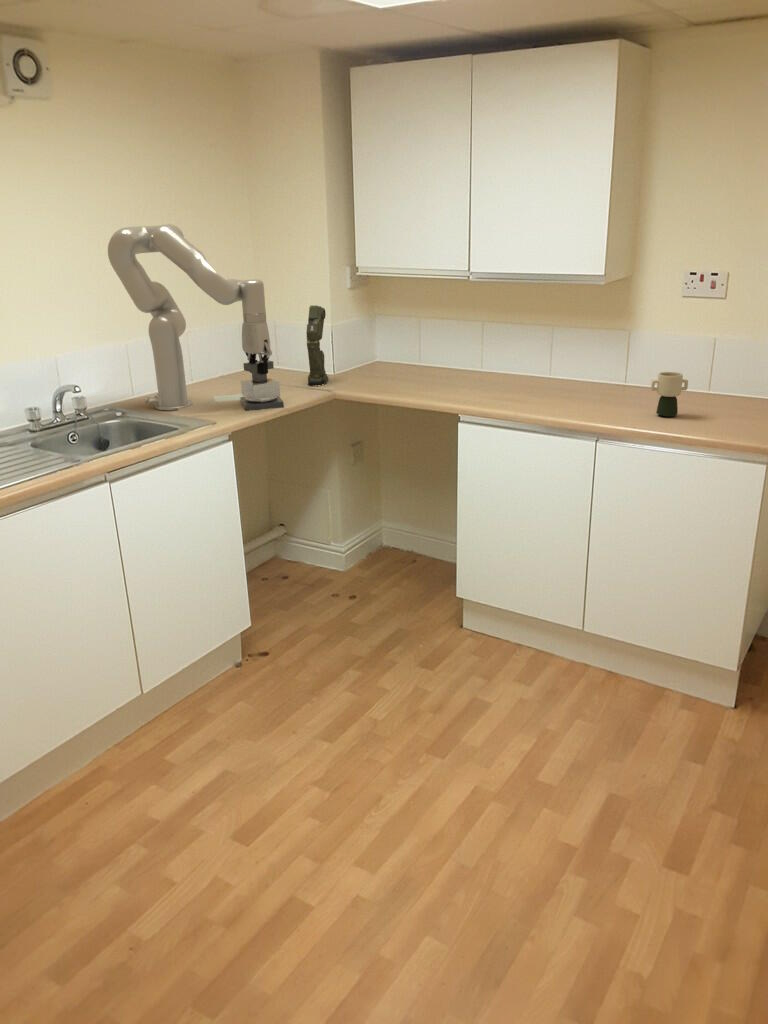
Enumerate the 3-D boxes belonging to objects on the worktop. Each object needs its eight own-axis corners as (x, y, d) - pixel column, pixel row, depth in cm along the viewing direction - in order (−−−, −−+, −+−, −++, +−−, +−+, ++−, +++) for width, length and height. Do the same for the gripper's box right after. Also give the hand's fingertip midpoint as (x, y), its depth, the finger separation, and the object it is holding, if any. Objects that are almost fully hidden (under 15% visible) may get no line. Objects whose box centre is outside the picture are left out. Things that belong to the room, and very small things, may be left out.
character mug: (681, 412, 258) (685, 371, 254) (688, 418, 252) (692, 375, 247) (645, 413, 259) (649, 372, 255) (651, 418, 252) (655, 376, 248)
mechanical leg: (320, 386, 308) (321, 303, 304) (301, 385, 309) (302, 303, 306) (330, 387, 321) (331, 308, 318) (312, 386, 323) (313, 308, 319)
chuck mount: (245, 410, 277) (244, 405, 277) (240, 402, 289) (240, 397, 288) (283, 407, 281) (283, 401, 280) (277, 399, 292) (277, 394, 292)
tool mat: (215, 403, 289) (215, 402, 289) (212, 397, 298) (212, 396, 298) (249, 400, 292) (249, 399, 292) (246, 395, 301) (246, 393, 301)
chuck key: (252, 392, 279) (250, 364, 275) (245, 390, 282) (243, 363, 279) (275, 388, 284) (273, 361, 281) (268, 387, 287) (266, 359, 284)
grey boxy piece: (254, 403, 277) (252, 385, 275) (239, 398, 285) (238, 380, 283) (283, 398, 283) (281, 380, 280) (268, 393, 291) (266, 375, 289)
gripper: (230, 317, 278) (235, 371, 284) (261, 321, 267) (265, 377, 273) (248, 315, 283) (252, 368, 289) (279, 318, 272) (283, 374, 278)
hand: (258, 372), depth 281 cm, fingers closed on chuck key, 4 cm apart
